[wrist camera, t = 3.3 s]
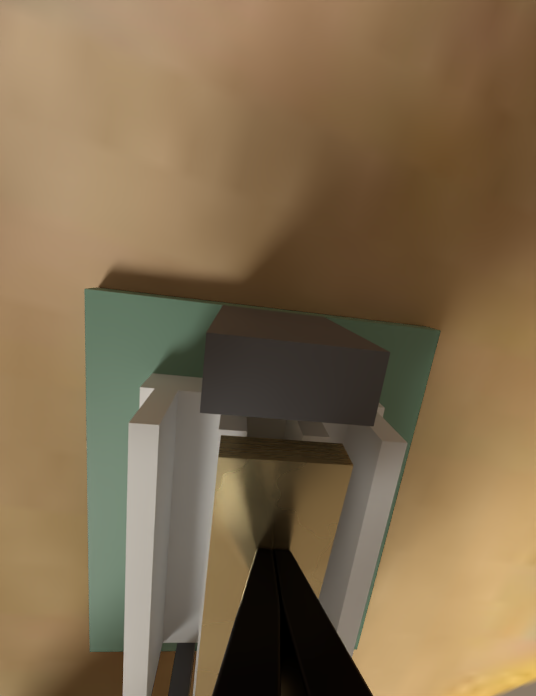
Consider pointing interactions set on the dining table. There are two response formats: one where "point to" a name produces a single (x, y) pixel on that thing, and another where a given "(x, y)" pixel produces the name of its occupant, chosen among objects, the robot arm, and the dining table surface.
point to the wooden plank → (266, 525)
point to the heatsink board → (203, 449)
